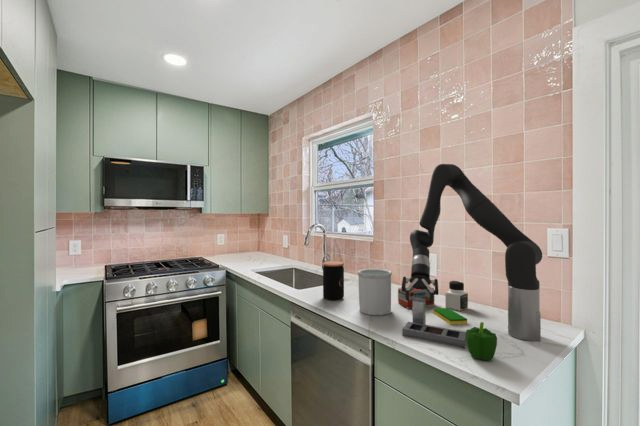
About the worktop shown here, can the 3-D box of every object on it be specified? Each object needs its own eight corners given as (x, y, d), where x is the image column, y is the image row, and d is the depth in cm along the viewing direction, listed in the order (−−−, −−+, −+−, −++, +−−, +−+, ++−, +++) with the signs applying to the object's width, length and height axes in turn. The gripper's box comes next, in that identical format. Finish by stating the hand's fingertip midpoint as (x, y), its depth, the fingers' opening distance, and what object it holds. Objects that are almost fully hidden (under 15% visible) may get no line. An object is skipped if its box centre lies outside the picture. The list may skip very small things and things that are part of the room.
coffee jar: (343, 301, 148) (342, 264, 148) (321, 300, 149) (321, 264, 149) (344, 295, 158) (344, 261, 158) (324, 294, 160) (324, 260, 160)
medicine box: (423, 300, 150) (422, 284, 150) (434, 305, 142) (434, 288, 142) (397, 304, 144) (397, 287, 144) (408, 309, 137) (408, 291, 136)
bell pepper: (489, 367, 85) (489, 331, 85) (460, 356, 92) (460, 323, 92) (502, 358, 90) (502, 325, 90) (474, 348, 97) (474, 317, 97)
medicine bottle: (460, 311, 132) (460, 284, 132) (445, 307, 138) (444, 281, 138) (468, 308, 137) (468, 281, 137) (452, 304, 142) (452, 278, 142)
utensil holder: (351, 308, 137) (351, 269, 137) (377, 303, 144) (377, 267, 144) (371, 318, 124) (371, 276, 124) (399, 312, 131) (398, 272, 131)
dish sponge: (450, 326, 117) (450, 319, 117) (432, 314, 131) (432, 308, 130) (467, 325, 118) (467, 318, 118) (447, 313, 132) (447, 307, 131)
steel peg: (425, 324, 117) (425, 298, 117) (423, 327, 114) (423, 301, 114) (415, 322, 119) (414, 297, 119) (412, 325, 116) (412, 299, 116)
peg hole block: (466, 339, 104) (466, 332, 104) (464, 348, 97) (464, 340, 97) (408, 327, 114) (408, 321, 114) (402, 335, 107) (402, 328, 107)
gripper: (402, 261, 130) (400, 295, 120) (438, 263, 125) (438, 298, 115) (404, 271, 135) (401, 304, 125) (438, 273, 130) (438, 308, 120)
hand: (419, 301), depth 120 cm, fingers open, 8 cm apart
